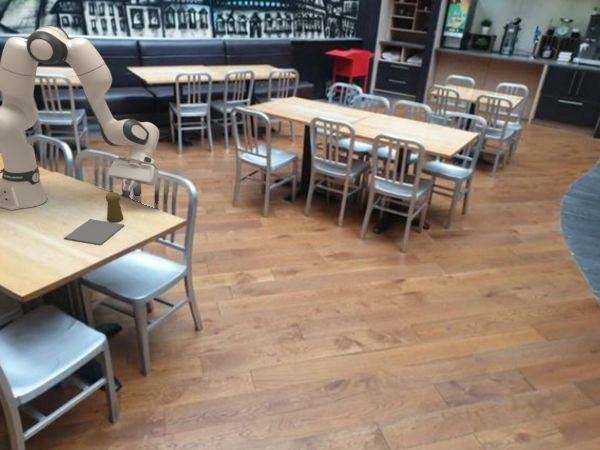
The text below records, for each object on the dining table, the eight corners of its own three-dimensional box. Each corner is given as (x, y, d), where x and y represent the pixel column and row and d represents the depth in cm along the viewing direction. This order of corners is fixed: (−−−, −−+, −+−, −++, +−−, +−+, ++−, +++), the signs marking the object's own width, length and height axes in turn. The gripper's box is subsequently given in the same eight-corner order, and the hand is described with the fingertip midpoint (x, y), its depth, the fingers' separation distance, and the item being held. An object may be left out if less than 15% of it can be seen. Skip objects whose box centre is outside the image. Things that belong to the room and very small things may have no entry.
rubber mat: (64, 239, 162) (63, 237, 161) (90, 220, 176) (90, 218, 176) (100, 245, 160) (100, 244, 160) (124, 225, 174) (124, 224, 174)
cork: (118, 223, 175) (115, 197, 170) (103, 221, 176) (100, 195, 171) (126, 217, 181) (124, 191, 176) (112, 214, 182) (109, 189, 177)
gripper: (112, 152, 185) (99, 183, 181) (157, 160, 181) (145, 191, 177) (119, 159, 191) (107, 189, 187) (163, 167, 187) (152, 198, 183)
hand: (126, 190), depth 182 cm, fingers closed
